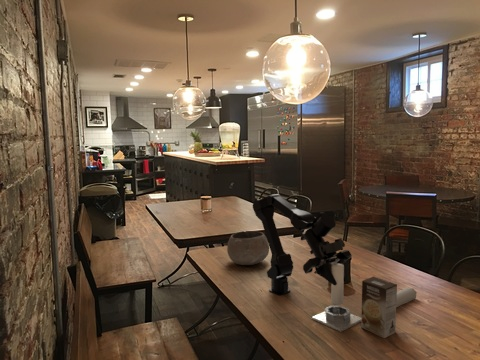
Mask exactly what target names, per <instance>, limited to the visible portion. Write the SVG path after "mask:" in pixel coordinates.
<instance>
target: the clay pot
mask: <svg viewBox="0 0 480 360" xmlns="http://www.w3.org/2000/svg"><path fill="white" fill-rule="evenodd" d="M226 249H227V254H228V257H229V259H230V260H231V261H232V262H234V264H237V265H239V266H254V265H257V264H259V263H262V262H263V261H264V260H266V258H267V257H268V255H269V253H270V247H269V243H268V240H267V237H266V234H264V233H263V232H262V231H255V230H243V231H238V232H235V233H233V234H231V236H230V237H229V239H228V241H227V246H226Z"/></svg>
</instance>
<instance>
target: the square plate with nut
mask: <svg viewBox="0 0 480 360" xmlns="http://www.w3.org/2000/svg"><path fill="white" fill-rule="evenodd" d="M361 317H362V316H357V315H356V314H352V313H351V311H350V308H348V307H345V306H343V305H329V306H327V307H325V308H324V311H322V312H320V313H318V314H316V315H313V316H311V319H312V320H313V321H315V322H318V323H319V324H322V325H324V326H326V327H329V328H331V329H333V330H335V331H338V332H340V333H342V332H344V331H346V330H348V329H349V328H352V327H353V326H356V325H357V324H359V323H361Z"/></svg>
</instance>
